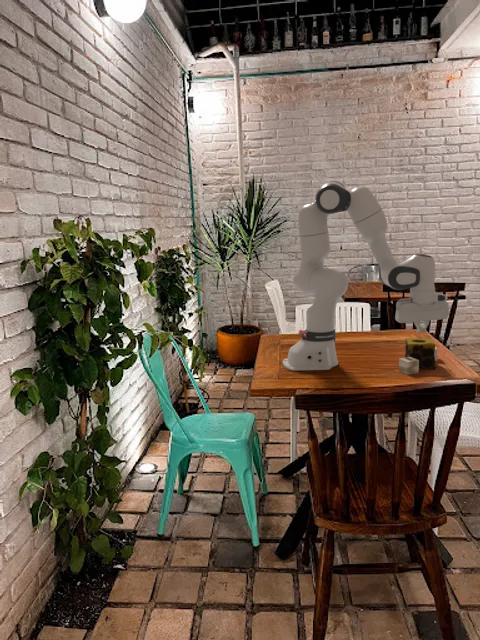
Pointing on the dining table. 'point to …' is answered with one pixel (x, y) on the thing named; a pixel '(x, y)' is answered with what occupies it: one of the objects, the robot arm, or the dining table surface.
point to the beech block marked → (408, 365)
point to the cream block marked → (436, 353)
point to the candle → (421, 351)
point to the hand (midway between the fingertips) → (421, 332)
